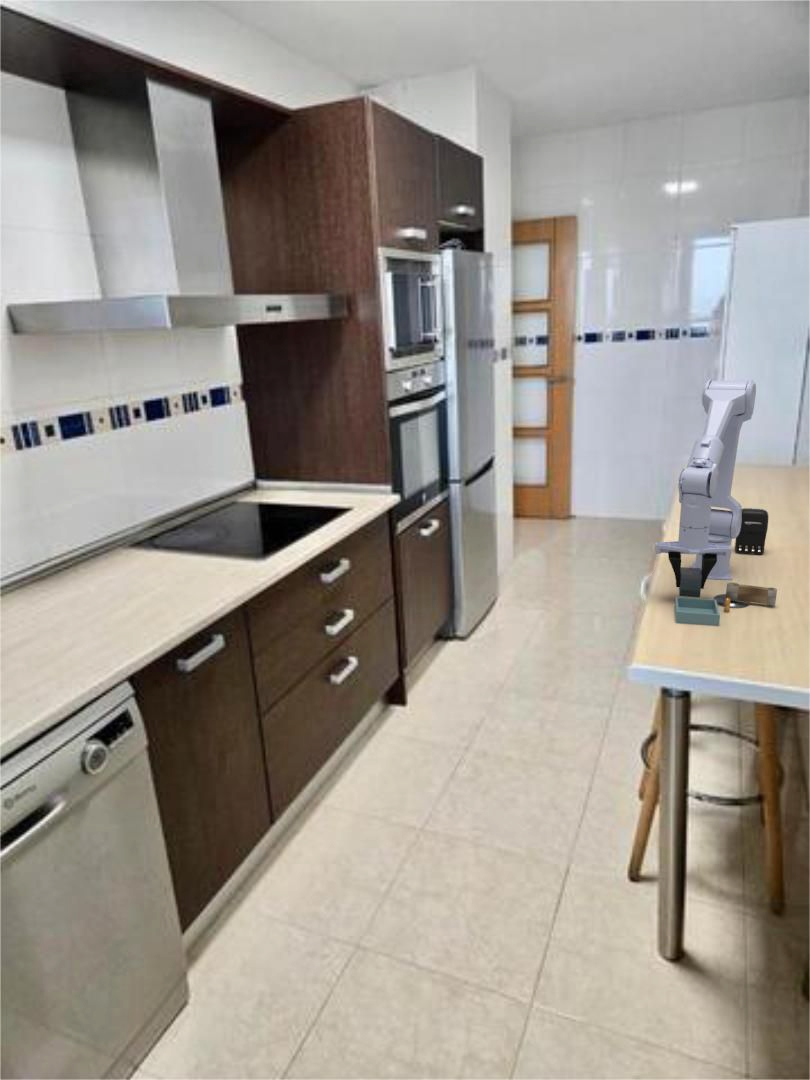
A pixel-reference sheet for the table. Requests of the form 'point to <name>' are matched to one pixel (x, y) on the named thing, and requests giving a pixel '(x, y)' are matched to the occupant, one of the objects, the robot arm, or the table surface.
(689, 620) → the tray
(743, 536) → the battery charger
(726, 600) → the crank base
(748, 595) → the crank
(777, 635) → the table surface
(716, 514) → the robot arm
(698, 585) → the block
